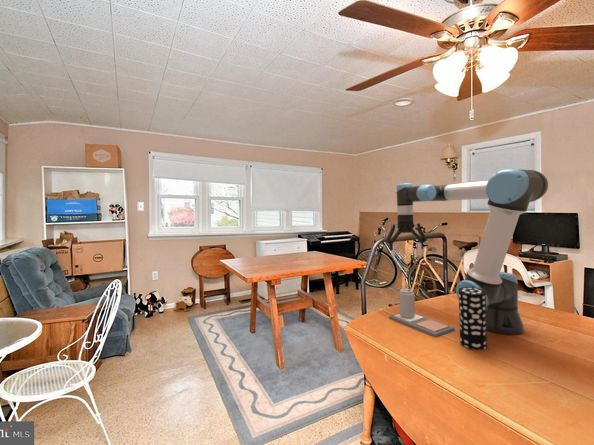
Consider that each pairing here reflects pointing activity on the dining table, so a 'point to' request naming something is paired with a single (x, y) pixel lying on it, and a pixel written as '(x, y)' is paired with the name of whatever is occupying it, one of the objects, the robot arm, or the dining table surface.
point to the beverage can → (407, 303)
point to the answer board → (424, 324)
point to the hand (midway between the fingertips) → (406, 256)
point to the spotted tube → (472, 318)
